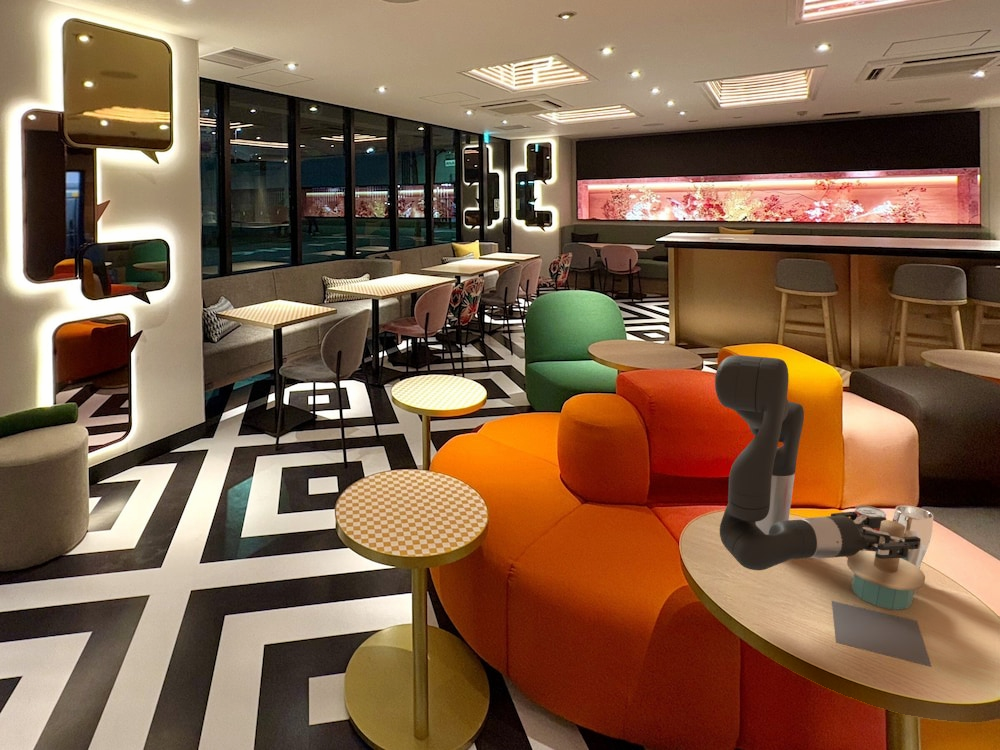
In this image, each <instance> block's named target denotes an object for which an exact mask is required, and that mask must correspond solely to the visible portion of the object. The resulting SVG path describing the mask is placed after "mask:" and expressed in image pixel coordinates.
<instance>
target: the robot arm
mask: <svg viewBox="0 0 1000 750" xmlns="http://www.w3.org/2000/svg"><path fill="white" fill-rule="evenodd" d="M787 365H788V364H787V363H786V362H785V361H784V360H783V359H781V358H776V357H768V356H765V357H763V356H753V355H739V354H738V355H737V354H736V355H729V356H727V357H726V358H724V359H723V360H721V362H720V363H719V365H718V367H717V370H716V372H715V376H714V388H715V389H714V390H715V393H716V396H717V399H718V400H717V401H719V404H721V406H723V407H724V408H728V409H729V410H730V409H731V410H733V411H734V412H735V413H737V414H738V415H739V416H740V417H741V418H742V419H743V420H744V422H746V423H747V424H748V427H749V429H750V432H751V434H752V435H753V436H754V437H753V439H752V440H751V441H750V442H749V443H748V444H747V445H746V447H744V449H743V450H742V451H740V453H739V454H738V456H737V457H736V458H735V460H734V462H733V463H732V465H731V468H730V471H729V475H728V495H727V502H728V503H727V505H726V507H725V510H724V512H723V516H722V518H721V521H720V525H719V537H720V541H721V543H722V545H723V546H724V548H725V549H726V550H727V551H728V553H730V555H731V556H732V557H733V558H734V559H735V560H736V561H737V562H738V563H739V564H740V565H741V566H742V567H743V568H745V569H748V570H750V571H751V570H752V571H764V570H768V569H769V568H772V567H775V566H777V565H778V566H779V565H780V564H783V563H785V562H787V561H789V560H799V559H829V558H831V559H832V558H844V557H845V558H847V557H846V556H853V555H855V554H856V553H858V552H859V551H860V550H861V549H867V550H874V551H875V552H876V557H877V558H880V559H888V558H907V557H908V551H909V550H910V549H918V548H919V546H920V541H921V539H920V538H918V537H917V536H914V537H901V538H899V537H894V536H890V534H889V533H887V532H882V531H877V530H874V528H880V525H881V521H883V520H886V519H887V518H886V519H885V518H884V517H882V516H878V517H866V516H864V515H860V516H858V515H857V513H856V512H854V511H845V512H836V513H835V512H834V513H831V514H830V515H829V516H814V517H808V518H807V517H806V518H803V519H795V520H794V519H791V520H790V511H791V505H792V498H793V491H794V482H795V476H796V471H797V470H796V467H797V460H798V452H799V446H800V441H801V437H802V436H801V435H802V432H803V426H804V422H805V421H804V420H805V410H804V407H803V405H802V404H800V403H797V402H792V401H789V400H788V391H789V369H788V366H787ZM779 443H782V445H781V446H779ZM778 446H779V447H778ZM880 536H881V537H884V542H882V543H879V542H880ZM890 541H895V542H896V543H889V542H890Z"/></svg>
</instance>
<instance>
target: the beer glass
mask: <svg viewBox="0 0 1000 750" xmlns="http://www.w3.org/2000/svg"><path fill="white" fill-rule="evenodd" d="M934 517H935V516H934V514H933V513H932V512H930V511H928V510H926V509H924V508H921V507H918V506H914V505H907V504H906V505H904V504H902V505H897V506H895V510H894V514H893V516H892V520H891V521H895V522H898V523H900V524H902V525H904V526H905V532H904V537H914V536H917V537H918V538H920V539H921V541H920V546H919V548H918V549H910V550H909V551H908V557H907V558H902V559H904V560H906V561H908V562H910V563H912V564H914V565H915V566H917V567H918V568H919V569H920V570H921V565H922V562H923V560H924V558H925V555H926V553H927V550H928V548H929V545H930V543H931V540H932V535H933V534H932V533H933V526H934V524H933V523H934Z"/></svg>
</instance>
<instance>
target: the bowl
mask: <svg viewBox="0 0 1000 750" xmlns="http://www.w3.org/2000/svg"><path fill="white" fill-rule="evenodd" d="M851 589H852V592H853V593H854V594H855V595H856V596H857V597H858V598H859V599H861V600H862V601H865V602H867V603H868V604H871V605H873V606H875V607H880V608H883V609H888V610H893V611H894V610H906V609H908V608H909V607H911V606H912V604H913V598H914V595H915V590H896V589H890V588H886V587H882V586H879V585H876V584H873V583H871V582H868V581H866V580H864V579H862V578H860V577H859V576H857V575H856V574H855V573H853V576H852V580H851Z"/></svg>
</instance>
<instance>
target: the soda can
mask: <svg viewBox="0 0 1000 750" xmlns="http://www.w3.org/2000/svg"><path fill="white" fill-rule="evenodd" d="M854 508H855V510H854V511H853V512H856V513H857V515H858V516H860V515H864V516H866V517H878V516H882V517H884V518H885V519H886V520H888V519H887V517H886V516H887V513H886V512H885V511H884V510H882V509H880V508H877V507H875V506H870V505H856V507H854ZM874 530H877V531H880V528H874ZM860 551H874V550H867V549H861V550H860ZM845 558H846V559H848V556H846V557H845Z"/></svg>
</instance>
